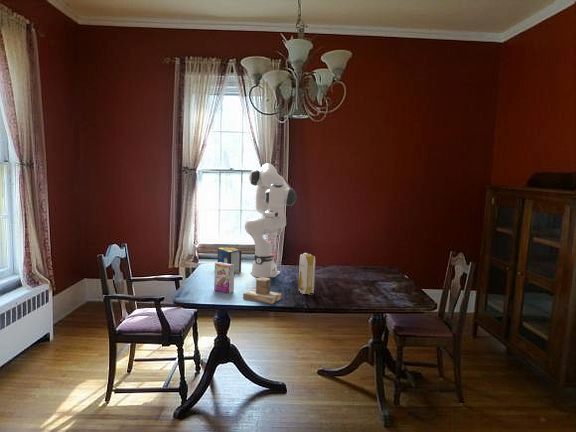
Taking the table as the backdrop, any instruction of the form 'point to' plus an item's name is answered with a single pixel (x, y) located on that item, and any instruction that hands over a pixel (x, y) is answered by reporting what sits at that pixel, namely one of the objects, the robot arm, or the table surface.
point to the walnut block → (262, 285)
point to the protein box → (230, 257)
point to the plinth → (262, 296)
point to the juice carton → (306, 273)
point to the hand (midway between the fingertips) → (275, 236)
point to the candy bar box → (224, 277)
